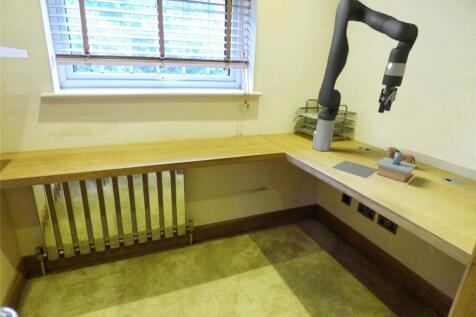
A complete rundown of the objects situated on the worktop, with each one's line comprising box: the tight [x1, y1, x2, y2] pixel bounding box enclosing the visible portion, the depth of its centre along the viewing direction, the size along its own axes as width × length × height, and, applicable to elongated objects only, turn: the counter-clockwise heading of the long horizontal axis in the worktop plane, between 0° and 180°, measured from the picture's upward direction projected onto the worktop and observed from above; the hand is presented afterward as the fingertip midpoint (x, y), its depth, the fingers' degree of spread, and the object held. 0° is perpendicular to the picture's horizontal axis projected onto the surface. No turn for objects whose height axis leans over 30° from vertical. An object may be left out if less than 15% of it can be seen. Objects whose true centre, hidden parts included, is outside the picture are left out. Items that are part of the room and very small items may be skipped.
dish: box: [376, 165, 412, 183], centre depth 127 cm, size 11×11×5 cm
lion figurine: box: [386, 146, 418, 169], centre depth 141 cm, size 15×5×9 cm, turn 67°
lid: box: [375, 152, 417, 174], centre depth 126 cm, size 13×13×6 cm
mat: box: [331, 160, 378, 179], centre depth 133 cm, size 16×16×1 cm
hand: (383, 111), depth 128 cm, fingers open, 8 cm apart
